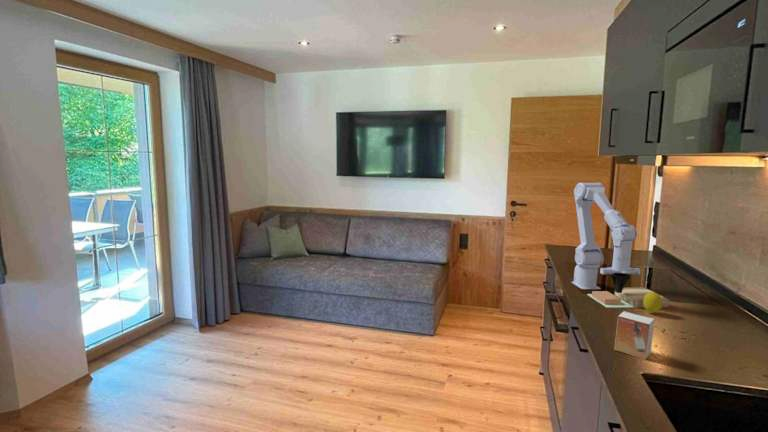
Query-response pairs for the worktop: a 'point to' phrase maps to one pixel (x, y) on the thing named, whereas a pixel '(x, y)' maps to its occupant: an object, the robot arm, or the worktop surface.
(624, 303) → the mat
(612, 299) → the tile
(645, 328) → the small box
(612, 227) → the robot arm
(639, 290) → the tan tray
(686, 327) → the worktop surface
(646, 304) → the lemon
